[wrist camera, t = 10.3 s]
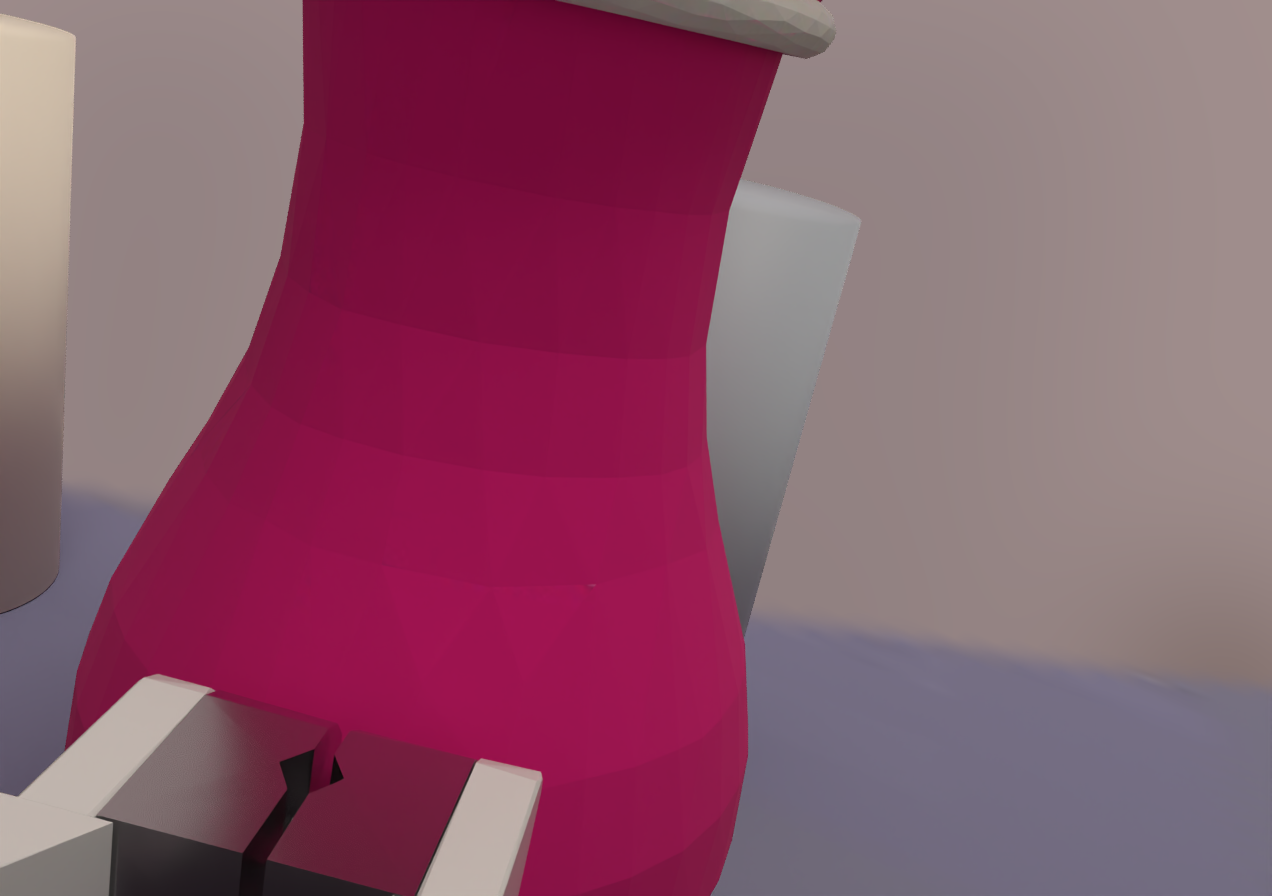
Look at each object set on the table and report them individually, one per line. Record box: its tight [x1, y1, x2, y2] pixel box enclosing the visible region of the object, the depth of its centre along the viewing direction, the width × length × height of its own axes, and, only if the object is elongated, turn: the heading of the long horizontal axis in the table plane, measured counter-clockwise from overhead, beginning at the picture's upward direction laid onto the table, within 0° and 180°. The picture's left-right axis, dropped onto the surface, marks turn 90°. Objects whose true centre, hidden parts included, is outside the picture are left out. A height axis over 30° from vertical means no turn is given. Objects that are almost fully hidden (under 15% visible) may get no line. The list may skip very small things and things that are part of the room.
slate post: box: [706, 179, 861, 638], centre depth 20 cm, size 4×4×10 cm
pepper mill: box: [65, 0, 836, 896], centre depth 11 cm, size 7×7×20 cm
